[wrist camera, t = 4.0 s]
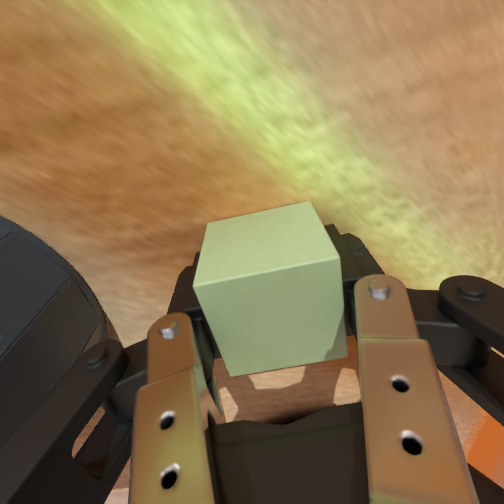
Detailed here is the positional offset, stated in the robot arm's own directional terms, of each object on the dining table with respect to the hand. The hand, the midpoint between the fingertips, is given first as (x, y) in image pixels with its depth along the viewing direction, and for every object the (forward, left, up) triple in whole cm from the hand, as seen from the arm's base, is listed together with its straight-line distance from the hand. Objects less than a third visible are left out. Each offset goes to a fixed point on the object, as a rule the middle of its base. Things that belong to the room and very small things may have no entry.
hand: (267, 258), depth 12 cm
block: (0, 0, 0) cm, 0 cm away
